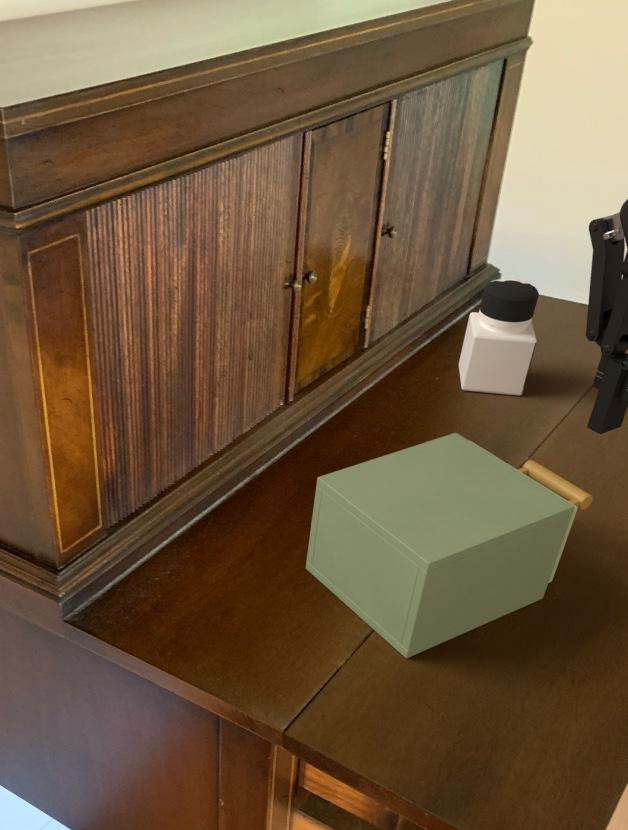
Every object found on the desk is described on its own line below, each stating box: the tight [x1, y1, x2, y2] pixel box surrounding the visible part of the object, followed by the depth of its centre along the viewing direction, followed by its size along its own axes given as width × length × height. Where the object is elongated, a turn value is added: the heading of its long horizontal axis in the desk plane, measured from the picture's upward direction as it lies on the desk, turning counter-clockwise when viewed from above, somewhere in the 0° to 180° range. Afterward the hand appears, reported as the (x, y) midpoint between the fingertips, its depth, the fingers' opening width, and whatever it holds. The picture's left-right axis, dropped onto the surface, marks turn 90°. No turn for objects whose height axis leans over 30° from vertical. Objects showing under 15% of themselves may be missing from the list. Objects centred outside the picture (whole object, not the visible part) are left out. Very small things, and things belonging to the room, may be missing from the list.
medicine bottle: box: [458, 277, 540, 397], centre depth 109 cm, size 7×7×12 cm
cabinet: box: [305, 432, 575, 659], centre depth 79 cm, size 16×14×10 cm
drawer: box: [469, 440, 593, 584], centre depth 81 cm, size 21×12×8 cm, turn 120°
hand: (603, 426), depth 82 cm, fingers closed
